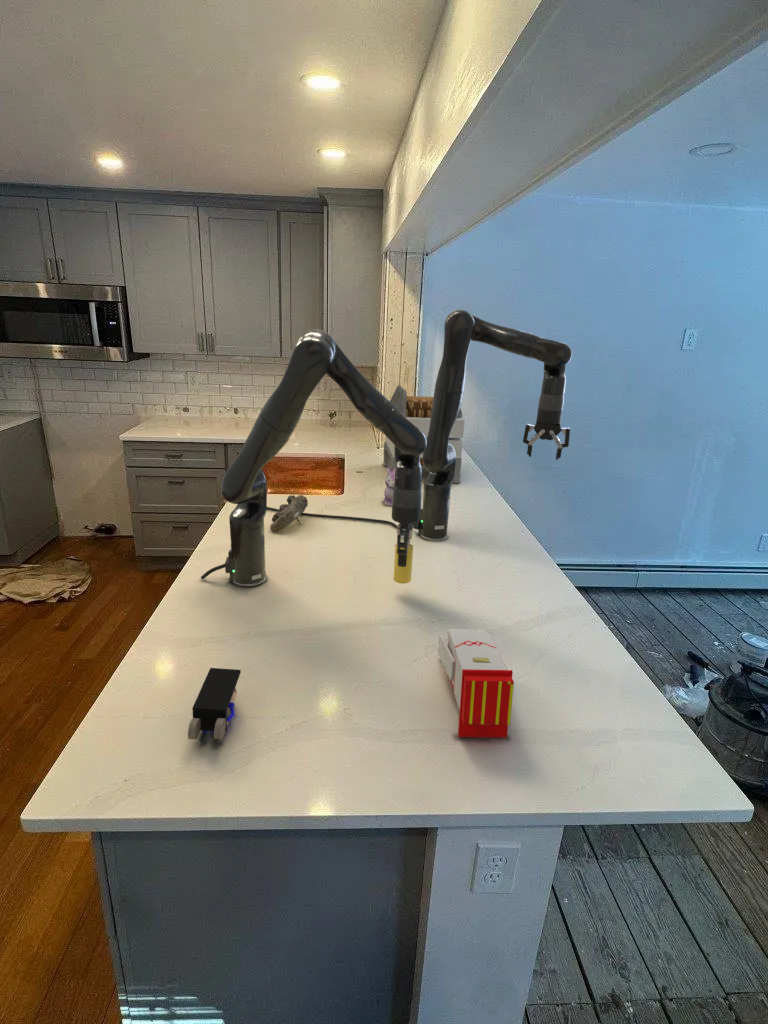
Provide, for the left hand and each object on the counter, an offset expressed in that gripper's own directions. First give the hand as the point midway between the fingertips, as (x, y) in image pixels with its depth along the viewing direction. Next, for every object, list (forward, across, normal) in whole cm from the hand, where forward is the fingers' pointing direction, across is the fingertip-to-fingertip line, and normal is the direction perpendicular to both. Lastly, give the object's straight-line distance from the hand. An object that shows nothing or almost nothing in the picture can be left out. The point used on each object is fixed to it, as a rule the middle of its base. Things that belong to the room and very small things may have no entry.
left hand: (403, 561), depth 153 cm
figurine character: (+11, -58, +28) cm, 65 cm away
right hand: (-21, +46, -40) cm, 64 cm away
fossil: (+10, +46, +46) cm, 66 cm away
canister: (+5, 0, 0) cm, 5 cm away
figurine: (+10, +78, +12) cm, 80 cm away
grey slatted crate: (+10, +126, +6) cm, 126 cm away
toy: (+10, -39, -19) cm, 44 cm away
